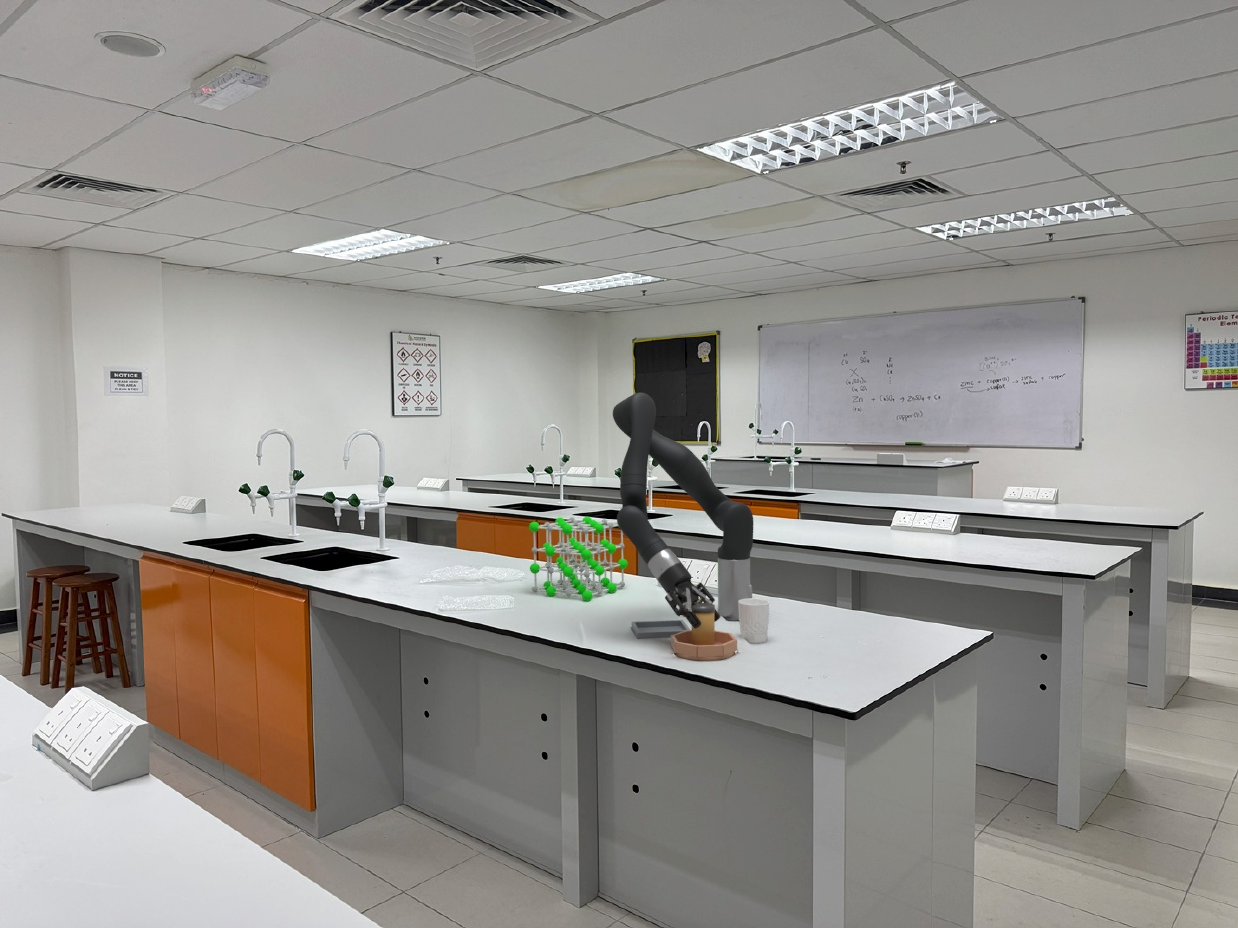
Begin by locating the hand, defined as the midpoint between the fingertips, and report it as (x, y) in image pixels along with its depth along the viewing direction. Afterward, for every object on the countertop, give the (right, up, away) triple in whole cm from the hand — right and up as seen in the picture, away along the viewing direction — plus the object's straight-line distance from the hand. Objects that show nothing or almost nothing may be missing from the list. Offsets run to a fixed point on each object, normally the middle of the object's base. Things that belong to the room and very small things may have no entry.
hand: (708, 622), depth 199 cm
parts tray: (-11, -7, +17) cm, 21 cm away
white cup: (+13, -7, +12) cm, 19 cm away
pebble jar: (-1, -6, +1) cm, 7 cm away
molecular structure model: (-35, -5, +76) cm, 84 cm away
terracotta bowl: (-1, -7, +1) cm, 7 cm away
